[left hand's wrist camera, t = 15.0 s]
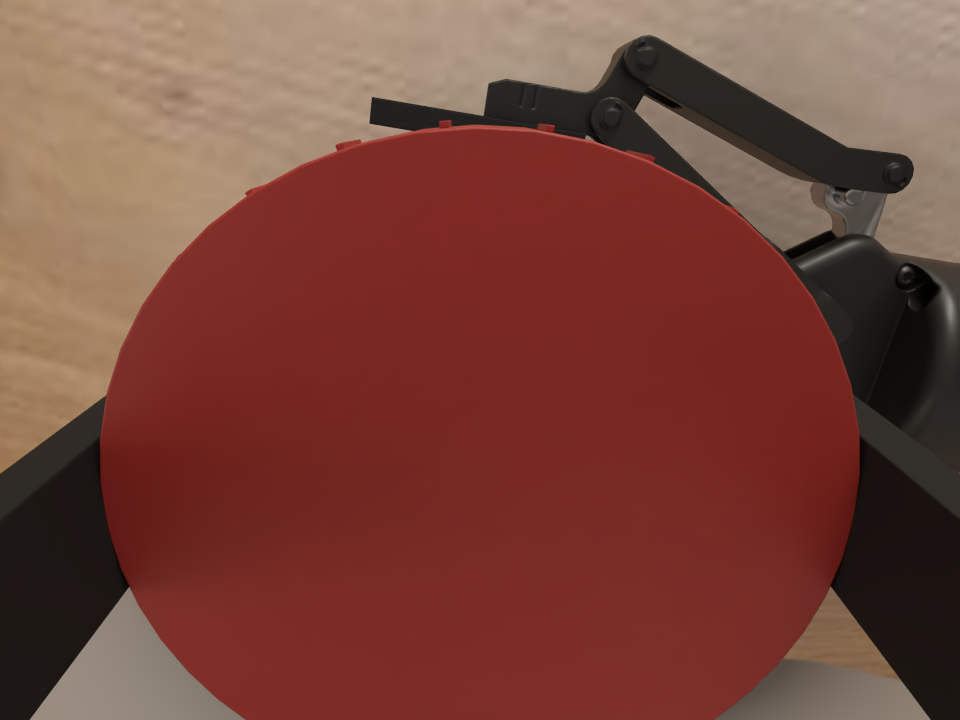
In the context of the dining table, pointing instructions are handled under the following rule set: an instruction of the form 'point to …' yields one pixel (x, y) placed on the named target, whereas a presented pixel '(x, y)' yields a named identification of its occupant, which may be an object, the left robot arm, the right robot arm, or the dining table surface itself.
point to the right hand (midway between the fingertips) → (360, 278)
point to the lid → (479, 440)
